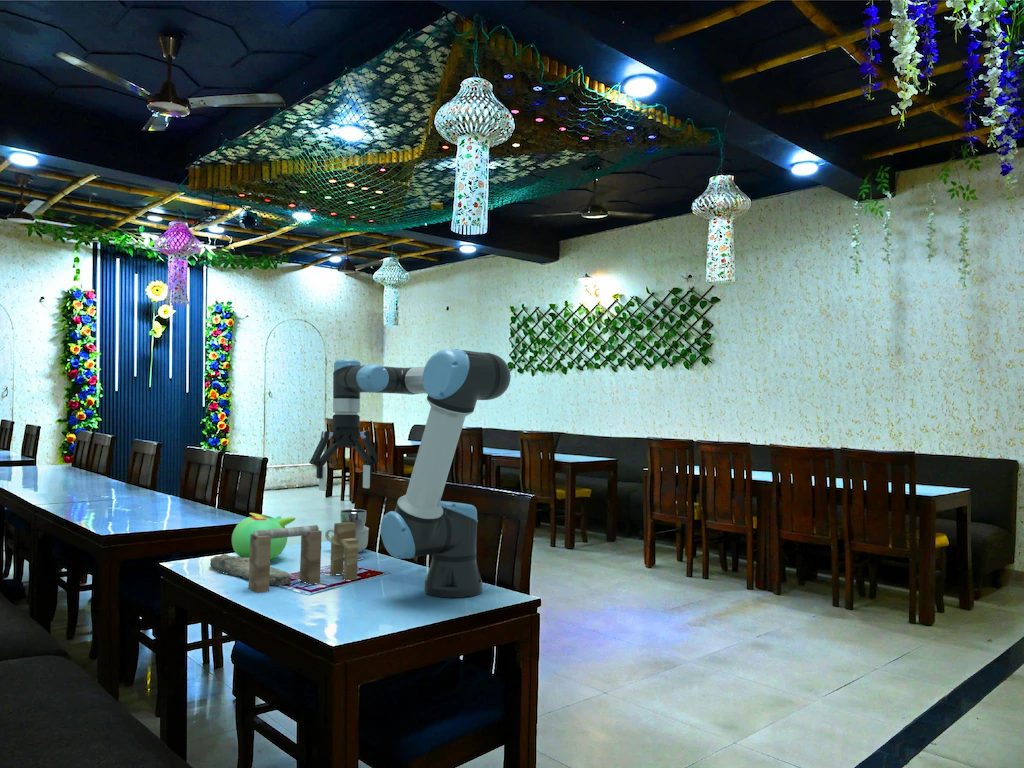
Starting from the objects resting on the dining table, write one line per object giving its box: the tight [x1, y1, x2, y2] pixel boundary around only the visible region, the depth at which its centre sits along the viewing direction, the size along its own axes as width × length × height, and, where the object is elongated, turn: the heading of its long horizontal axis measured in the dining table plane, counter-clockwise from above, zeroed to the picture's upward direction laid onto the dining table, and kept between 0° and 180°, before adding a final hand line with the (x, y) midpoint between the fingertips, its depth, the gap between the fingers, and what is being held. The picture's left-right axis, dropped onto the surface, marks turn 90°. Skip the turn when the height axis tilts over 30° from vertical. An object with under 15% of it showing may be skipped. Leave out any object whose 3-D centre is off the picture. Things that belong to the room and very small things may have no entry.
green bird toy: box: [231, 512, 296, 561], centre depth 220 cm, size 18×17×15 cm
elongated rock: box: [209, 553, 292, 586], centre depth 201 cm, size 35×5×10 cm
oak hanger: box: [329, 522, 359, 580], centre depth 201 cm, size 10×5×15 cm, turn 41°
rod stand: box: [248, 524, 323, 594], centre depth 190 cm, size 6×17×15 cm, turn 131°
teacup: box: [324, 525, 370, 554], centre depth 237 cm, size 14×11×8 cm
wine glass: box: [340, 508, 367, 559], centre depth 226 cm, size 8×8×15 cm
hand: (344, 489), depth 203 cm, fingers open, 13 cm apart
